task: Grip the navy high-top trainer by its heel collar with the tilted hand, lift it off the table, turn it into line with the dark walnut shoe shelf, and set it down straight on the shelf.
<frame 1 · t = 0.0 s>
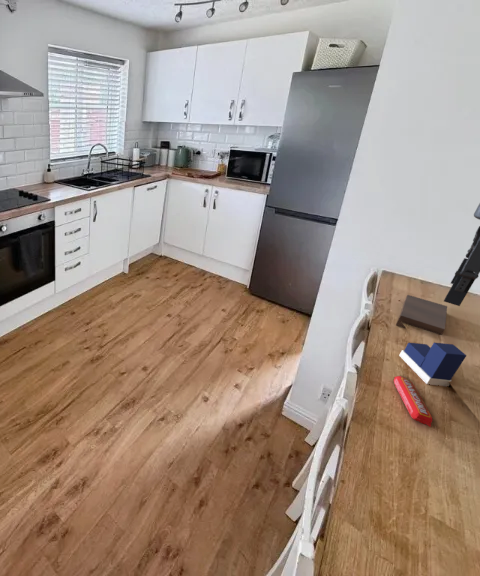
hand: (454, 293, 85), 26 cm above the table, tool pointing down, fingers open, 13 cm apart
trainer: (422, 370, 100), on the table
shoe shelf: (419, 320, 123), on the table
candy bar: (408, 403, 89), on the table
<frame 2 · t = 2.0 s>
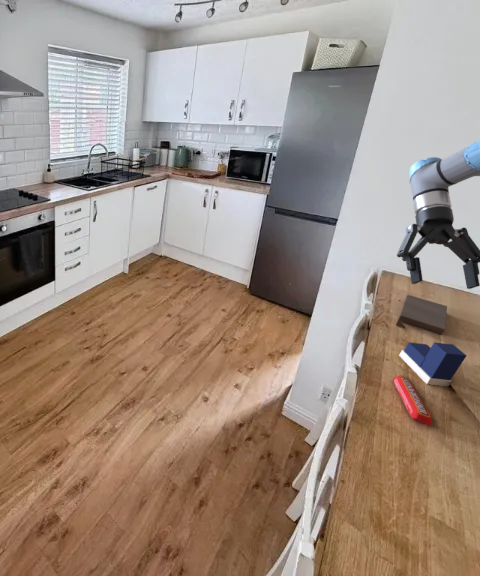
hand: (445, 284, 95), 23 cm above the table, tool tilted 45°, fingers open, 13 cm apart
nothing on the table moved.
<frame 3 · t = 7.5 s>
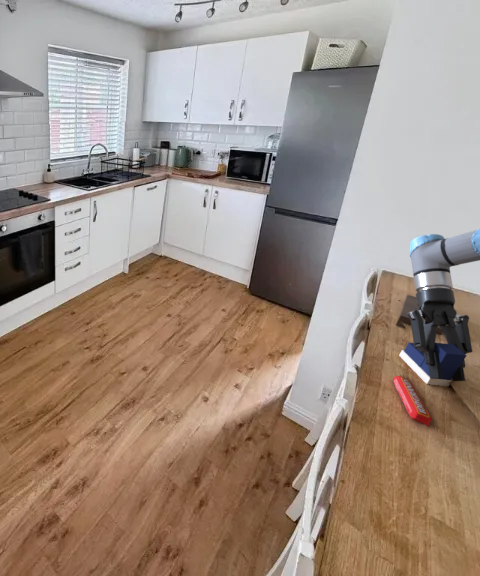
hand: (447, 379, 92), 3 cm above the table, tool tilted 45°, fingers closed on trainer, 5 cm apart
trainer: (422, 370, 100), on the table, touching gripper
everything else where it was.
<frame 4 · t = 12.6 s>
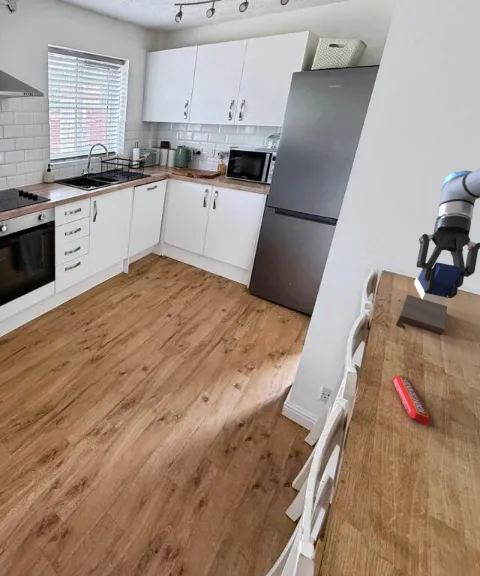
hand: (439, 293, 102), 18 cm above the table, tool tilted 45°, fingers closed on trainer, 5 cm apart
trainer: (428, 293, 109), point 15 cm above the table, touching gripper
everything else where it was.
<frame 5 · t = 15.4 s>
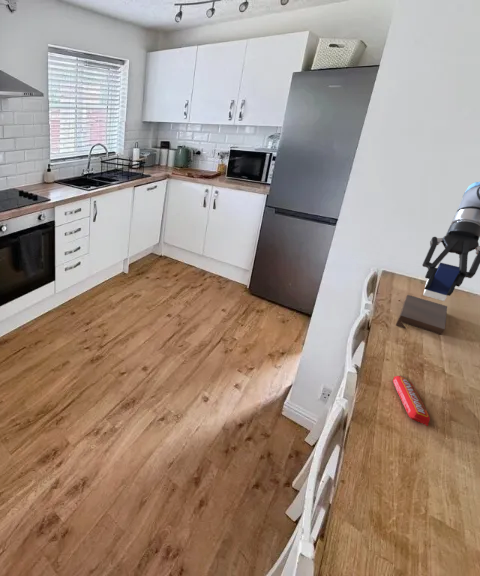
hand: (438, 290, 112), 14 cm above the table, tool tilted 45°, fingers closed on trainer, 5 cm apart
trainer: (434, 291, 118), point 11 cm above the table, touching gripper
everything else where it was.
when the fingers open (7 cm above the table, at t = 17.6 s): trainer stays where it is, resting on shoe shelf.
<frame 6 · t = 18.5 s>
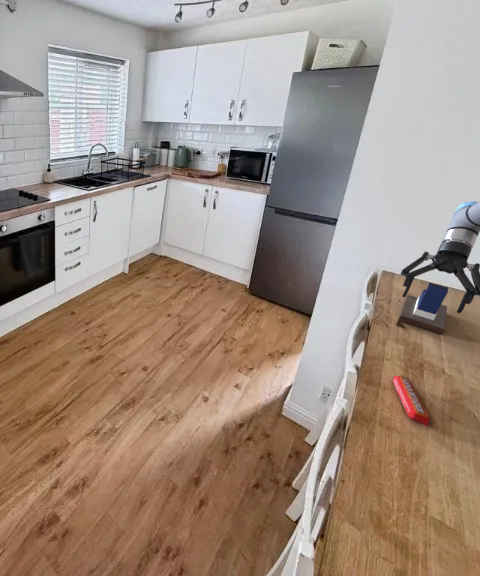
hand: (431, 303, 115), 9 cm above the table, tool tilted 45°, fingers open, 13 cm apart
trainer: (424, 310, 121), point 4 cm above the table, touching shoe shelf
everything else where it was.
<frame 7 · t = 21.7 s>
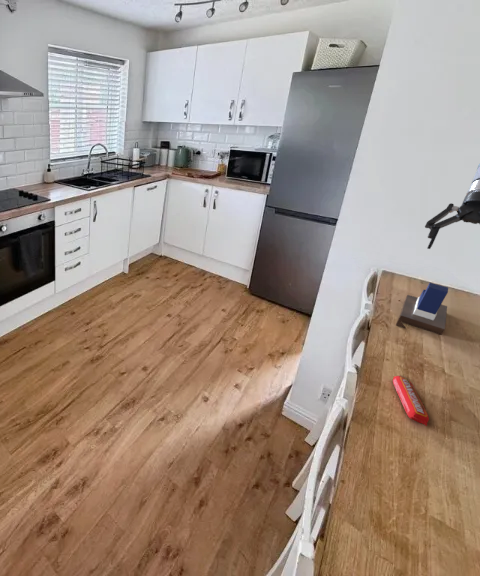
hand: (457, 252, 115), 24 cm above the table, tool tilted 45°, fingers open, 13 cm apart
nothing on the table moved.
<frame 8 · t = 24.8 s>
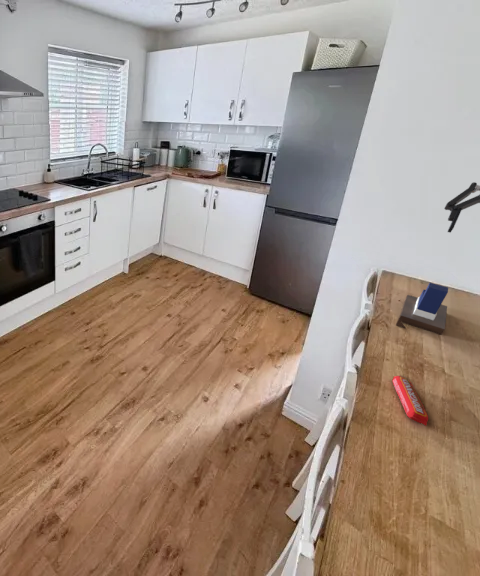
nothing on the table moved.
at the end: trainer inside the target area on the shoe shelf (0.1 cm from its centre), point 4.0 cm above the shoe shelf's base; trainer tilted 0°; the gripper is holding nothing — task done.
